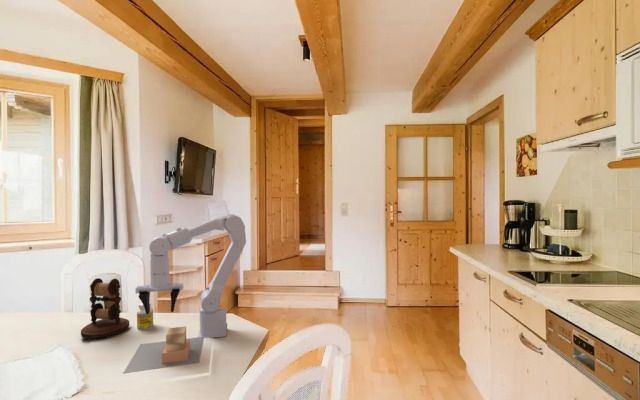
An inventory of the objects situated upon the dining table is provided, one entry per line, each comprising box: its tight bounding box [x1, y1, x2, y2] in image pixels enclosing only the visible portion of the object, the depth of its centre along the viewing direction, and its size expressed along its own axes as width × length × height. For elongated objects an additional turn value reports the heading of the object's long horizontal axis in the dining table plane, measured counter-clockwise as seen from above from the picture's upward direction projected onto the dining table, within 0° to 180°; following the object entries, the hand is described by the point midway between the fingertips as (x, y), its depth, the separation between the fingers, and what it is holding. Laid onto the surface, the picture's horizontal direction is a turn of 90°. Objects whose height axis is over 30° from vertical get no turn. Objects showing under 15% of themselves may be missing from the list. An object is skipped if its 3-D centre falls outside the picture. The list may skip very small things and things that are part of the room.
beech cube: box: [165, 326, 187, 352], centre depth 98 cm, size 5×5×5 cm
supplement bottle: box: [136, 301, 154, 331], centre depth 120 cm, size 5×5×10 cm
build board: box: [122, 336, 205, 374], centre depth 100 cm, size 20×18×4 cm
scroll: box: [80, 277, 130, 339], centre depth 116 cm, size 15×15×20 cm
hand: (160, 312), depth 109 cm, fingers open, 7 cm apart
